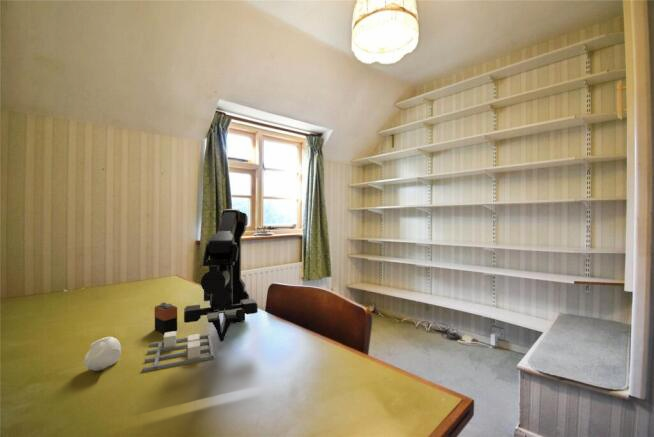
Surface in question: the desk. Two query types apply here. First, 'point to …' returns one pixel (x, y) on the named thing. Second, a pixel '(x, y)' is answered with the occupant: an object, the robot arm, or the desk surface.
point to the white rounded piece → (103, 353)
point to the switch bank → (177, 353)
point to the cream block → (193, 349)
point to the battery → (165, 318)
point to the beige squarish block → (193, 338)
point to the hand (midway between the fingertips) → (221, 340)
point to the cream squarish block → (170, 339)
